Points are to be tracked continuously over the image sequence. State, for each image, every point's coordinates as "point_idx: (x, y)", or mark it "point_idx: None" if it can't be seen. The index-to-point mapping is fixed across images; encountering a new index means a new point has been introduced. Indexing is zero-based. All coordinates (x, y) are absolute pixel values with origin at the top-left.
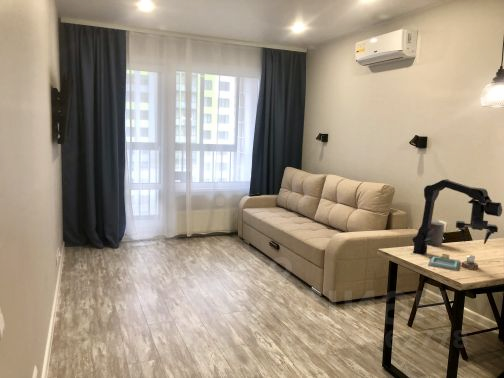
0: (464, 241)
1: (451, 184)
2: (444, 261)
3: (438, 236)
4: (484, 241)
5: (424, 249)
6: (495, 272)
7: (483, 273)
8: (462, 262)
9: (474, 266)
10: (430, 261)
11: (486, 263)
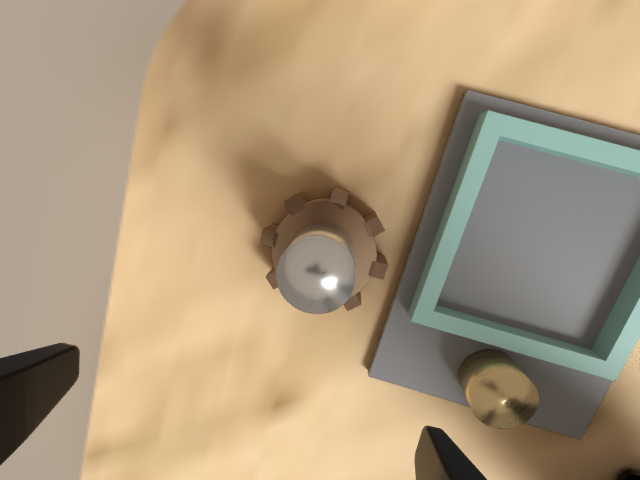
0: (430, 426)
1: None
2: (517, 311)
3: None
4: (28, 375)
5: None
6: (155, 179)
7: (253, 111)
8: (386, 263)
9: (301, 198)
10: None
11: (176, 385)
